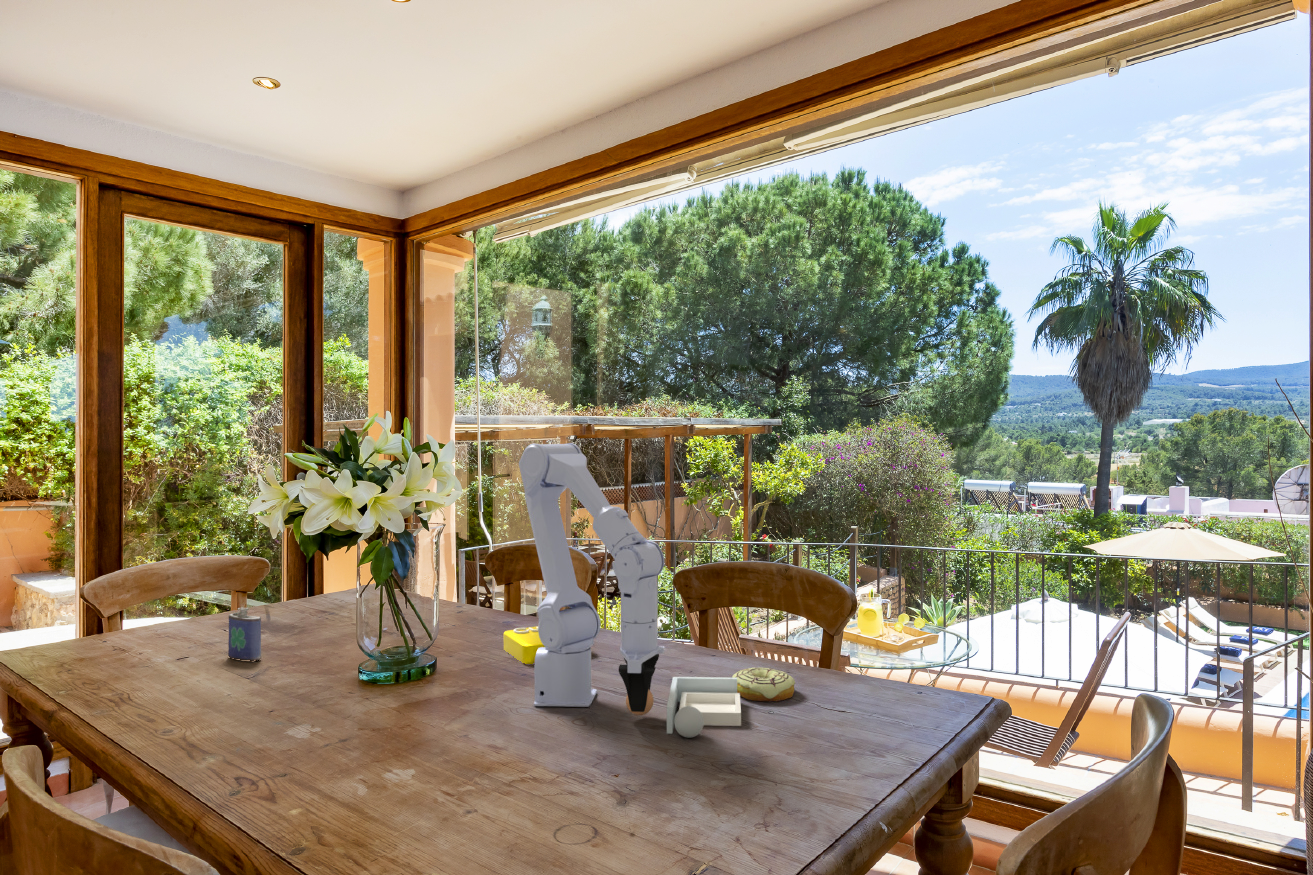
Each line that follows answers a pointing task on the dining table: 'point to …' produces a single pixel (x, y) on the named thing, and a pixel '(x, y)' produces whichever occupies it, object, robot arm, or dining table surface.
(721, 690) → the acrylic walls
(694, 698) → the ceramic dish
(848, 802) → the dining table surface
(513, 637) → the element tile
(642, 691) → the robot arm
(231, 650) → the flask
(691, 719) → the grey ball
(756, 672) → the decorated donut
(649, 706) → the terracotta ball
